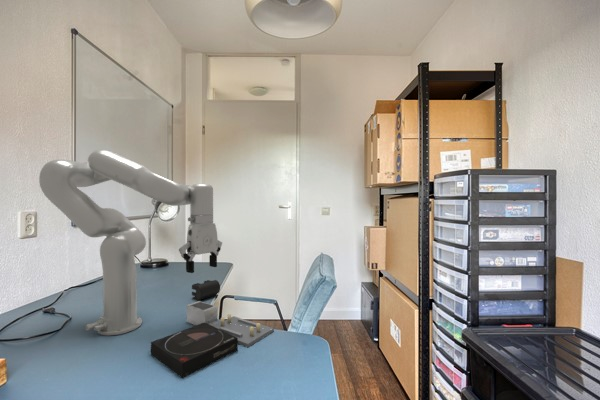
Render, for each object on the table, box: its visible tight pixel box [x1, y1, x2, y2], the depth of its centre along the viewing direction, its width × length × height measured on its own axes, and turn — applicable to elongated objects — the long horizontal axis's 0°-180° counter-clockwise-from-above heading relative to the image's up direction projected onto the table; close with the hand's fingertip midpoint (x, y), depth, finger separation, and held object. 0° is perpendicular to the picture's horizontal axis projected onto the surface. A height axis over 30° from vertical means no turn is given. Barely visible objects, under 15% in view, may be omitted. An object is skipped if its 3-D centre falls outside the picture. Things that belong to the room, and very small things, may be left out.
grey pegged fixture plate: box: [213, 313, 275, 348], centre depth 93 cm, size 12×18×4 cm, turn 57°
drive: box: [186, 300, 218, 326], centre depth 100 cm, size 5×10×6 cm, turn 56°
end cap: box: [191, 279, 221, 302], centre depth 126 cm, size 10×7×7 cm
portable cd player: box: [149, 322, 239, 379], centre depth 81 cm, size 16×17×4 cm
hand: (202, 269), depth 100 cm, fingers open, 9 cm apart
